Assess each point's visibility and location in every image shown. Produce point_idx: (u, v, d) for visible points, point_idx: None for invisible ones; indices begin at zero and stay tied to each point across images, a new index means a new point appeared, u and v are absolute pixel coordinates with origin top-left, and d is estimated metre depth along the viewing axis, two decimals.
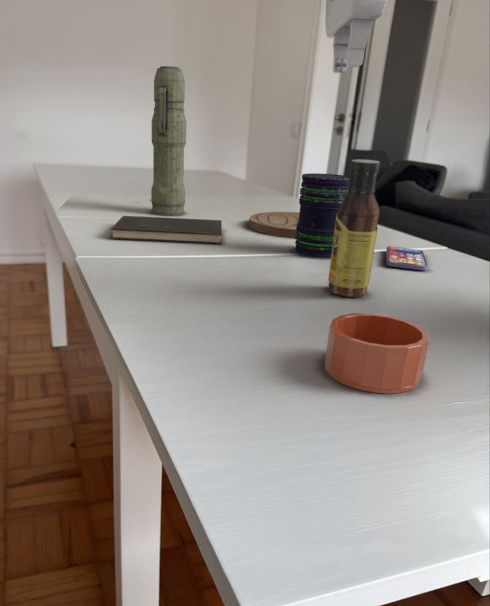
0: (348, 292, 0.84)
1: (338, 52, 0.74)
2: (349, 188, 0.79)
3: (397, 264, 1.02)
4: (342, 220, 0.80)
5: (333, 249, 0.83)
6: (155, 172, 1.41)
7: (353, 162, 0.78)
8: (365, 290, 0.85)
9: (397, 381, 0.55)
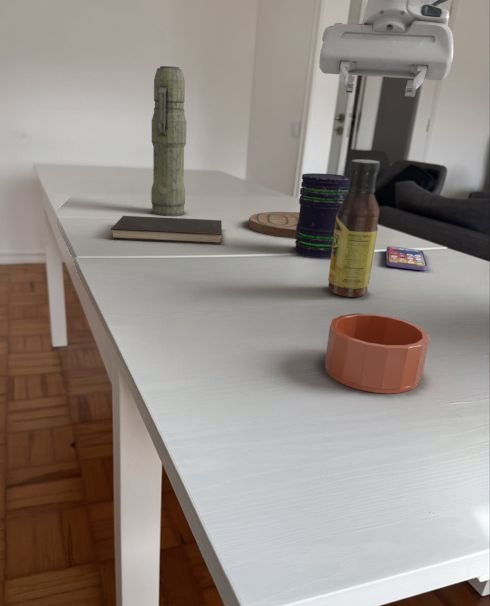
0: (348, 292, 0.84)
1: None
2: (349, 188, 0.79)
3: (397, 264, 1.02)
4: (342, 220, 0.80)
5: (333, 249, 0.83)
6: (155, 172, 1.41)
7: (353, 162, 0.78)
8: (365, 290, 0.85)
9: (397, 381, 0.55)
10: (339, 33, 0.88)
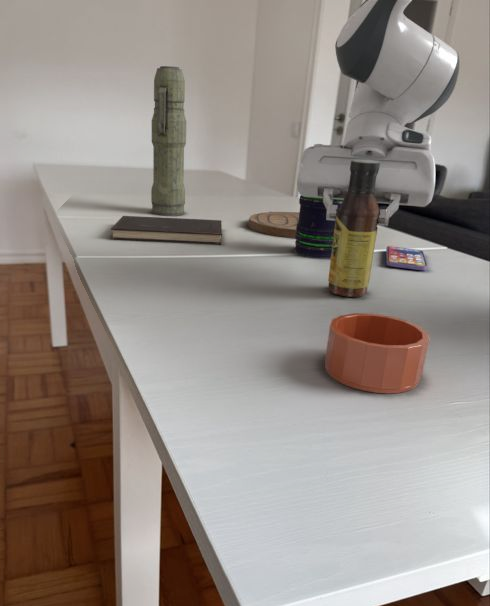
0: (348, 292, 0.84)
1: None
2: (349, 188, 0.79)
3: (397, 264, 1.02)
4: (342, 220, 0.80)
5: (333, 249, 0.83)
6: (155, 172, 1.41)
7: (353, 162, 0.78)
8: (365, 290, 0.85)
9: (397, 381, 0.55)
10: (317, 157, 0.85)
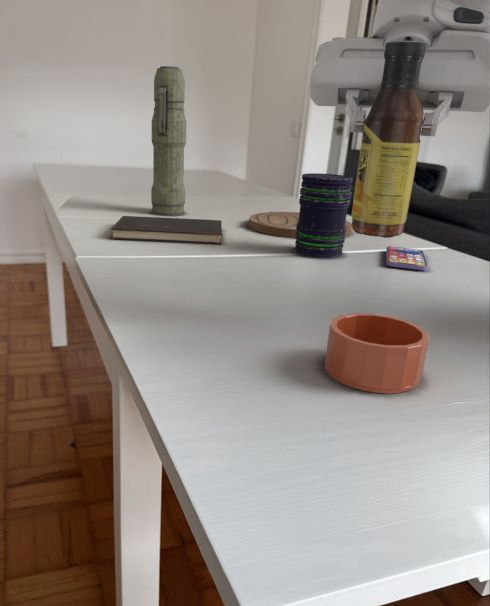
0: (379, 230, 0.62)
1: None
2: (382, 83, 0.58)
3: (397, 264, 1.02)
4: (373, 128, 0.58)
5: (359, 172, 0.62)
6: (155, 172, 1.41)
7: (389, 43, 0.56)
8: (402, 228, 0.63)
9: (397, 381, 0.55)
10: (338, 50, 0.64)
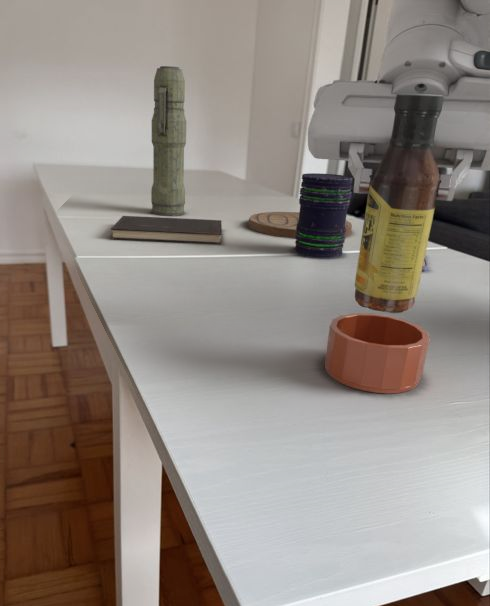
0: (387, 305, 0.54)
1: None
2: (392, 140, 0.50)
3: None
4: (381, 192, 0.50)
5: (364, 238, 0.53)
6: (155, 172, 1.41)
7: (400, 96, 0.48)
8: (412, 302, 0.55)
9: (397, 381, 0.55)
10: (339, 96, 0.55)
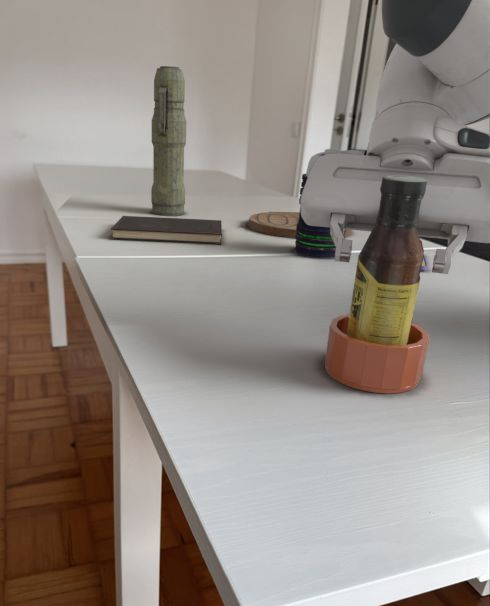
0: None
1: None
2: (378, 219, 0.52)
3: None
4: (368, 267, 0.53)
5: (353, 307, 0.56)
6: (155, 172, 1.41)
7: (386, 180, 0.51)
8: None
9: (397, 381, 0.55)
10: (330, 168, 0.58)
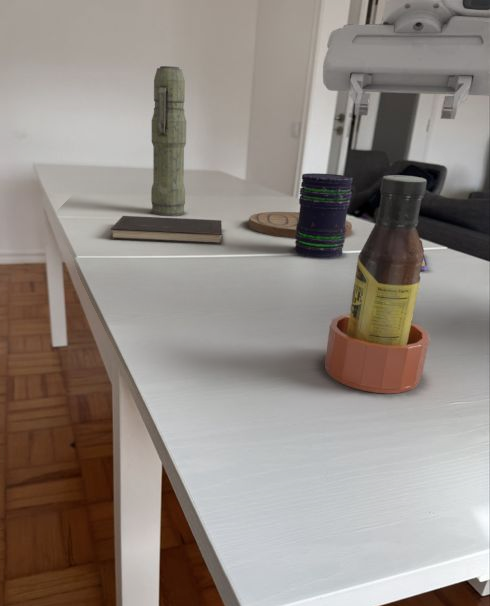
0: None
1: None
2: (378, 219, 0.52)
3: None
4: (368, 267, 0.53)
5: (353, 307, 0.56)
6: (155, 172, 1.41)
7: (386, 180, 0.51)
8: None
9: (397, 381, 0.55)
10: (350, 36, 0.65)
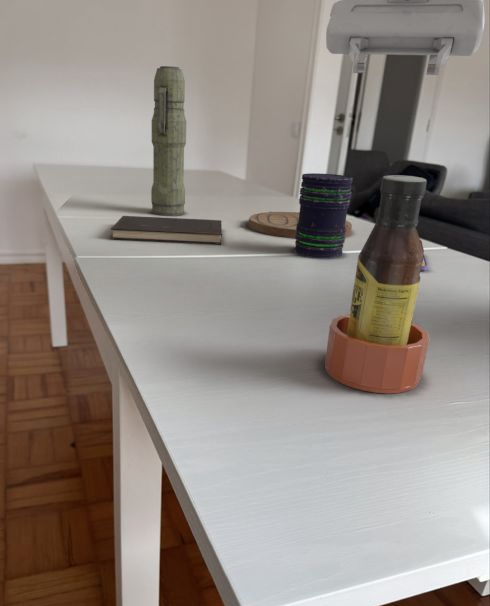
0: None
1: None
2: (378, 219, 0.52)
3: None
4: (368, 267, 0.53)
5: (353, 307, 0.56)
6: (155, 172, 1.41)
7: (386, 180, 0.51)
8: None
9: (397, 381, 0.55)
10: (349, 6, 0.76)
